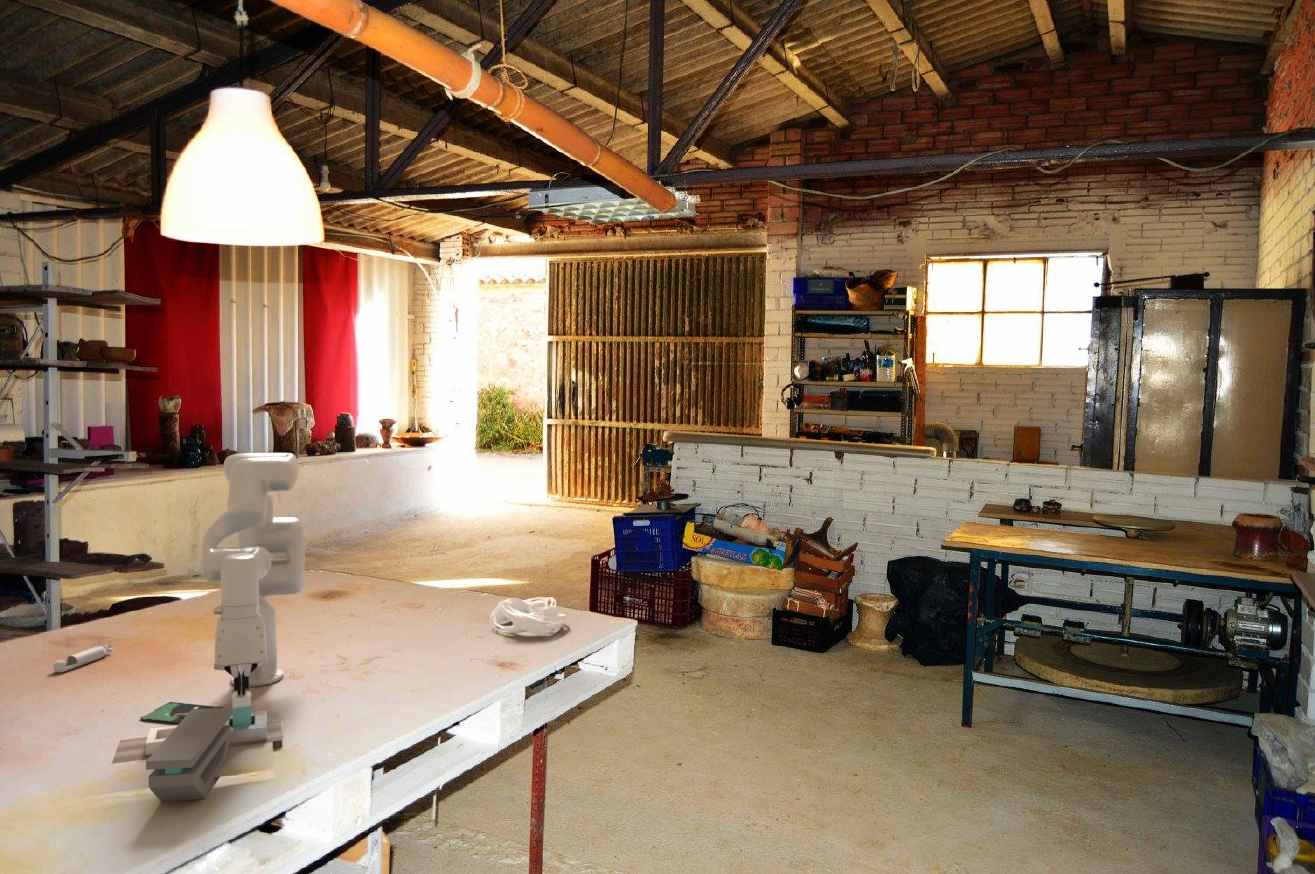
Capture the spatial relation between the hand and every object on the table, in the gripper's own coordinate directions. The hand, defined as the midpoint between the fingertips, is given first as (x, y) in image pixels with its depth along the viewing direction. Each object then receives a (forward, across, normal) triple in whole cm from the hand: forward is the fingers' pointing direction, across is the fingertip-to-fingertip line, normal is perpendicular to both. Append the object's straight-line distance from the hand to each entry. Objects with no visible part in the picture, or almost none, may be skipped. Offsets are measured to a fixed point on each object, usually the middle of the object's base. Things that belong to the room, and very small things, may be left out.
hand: (241, 692), depth 198 cm
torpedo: (+11, -40, +70) cm, 82 cm away
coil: (+11, +82, +63) cm, 104 cm away
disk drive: (+12, -13, +17) cm, 24 cm away
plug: (+10, 0, 0) cm, 10 cm away
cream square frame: (+9, -14, 0) cm, 17 cm away
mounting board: (+11, -8, 0) cm, 14 cm away
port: (+10, 0, 0) cm, 10 cm away
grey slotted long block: (+11, -8, -19) cm, 24 cm away
